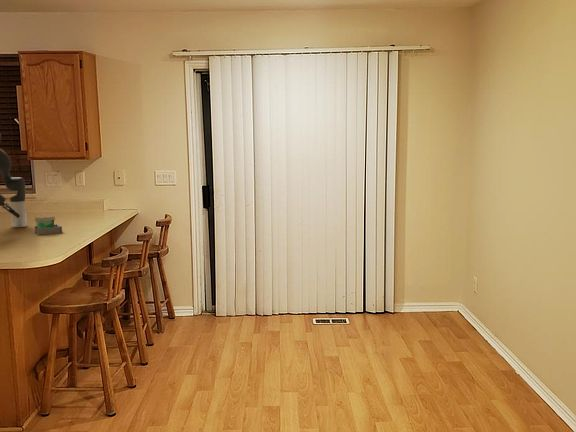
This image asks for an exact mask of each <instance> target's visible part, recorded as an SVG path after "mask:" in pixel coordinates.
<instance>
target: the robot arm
mask: <svg viewBox="0 0 576 432" xmlns="http://www.w3.org/2000/svg"><path fill="white" fill-rule="evenodd" d="M1 141H2V134H1V132H0V142H1ZM12 164H13V163H12V160H11V159H10V156H9V155H8V153H6V152H5V151H4V150H3V149H2V148H0V175H1V177H2V181H3V182H4V185H5V187H6V189H7V190H8V191H10V192H17V193H16V194H15V195H13V196H10V198H9V202H10V204H9V203H8V202H5V201H6V200H7V199H6V197H5V196H3V195H2V194H1V193H0V207H2V208H1V209H3V210H4V211H6V212H7V213H10V216H11V217H10V219H11V228H23V227H27V226H28V224H27V222H28V221H27V210H26V209H27V208H26V207H27V206H26V182H25V179H24V178H23V177H20V176H19V177H18V176H17V177H15V176H14V177H13V176H11V173H10V171H11V169H12V166H13V165H12Z"/></svg>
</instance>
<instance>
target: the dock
mask: <svg viewBox="0 0 576 432" xmlns="http://www.w3.org/2000/svg"><path fill="white" fill-rule="evenodd" d="M35 232H37V233H36V235H37V236H42V235H41V234H43V235H52V234H53V233H55V234H62V233H63V227H62V225H61V224H58V223H57V224H56V223H54V227H46V228H37V225H34V233H35Z"/></svg>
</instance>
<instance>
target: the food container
mask: <svg viewBox="0 0 576 432" xmlns="http://www.w3.org/2000/svg"><path fill="white" fill-rule="evenodd" d="M55 220H56V217H55V216H50V217H36V216H35V217H34V222H35V224H36V226H37V228H46V227H54V224H55Z"/></svg>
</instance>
